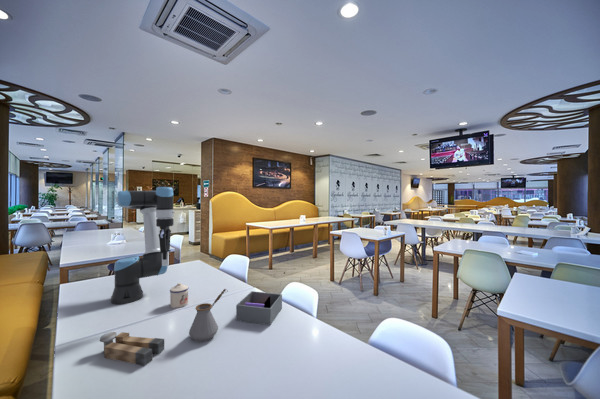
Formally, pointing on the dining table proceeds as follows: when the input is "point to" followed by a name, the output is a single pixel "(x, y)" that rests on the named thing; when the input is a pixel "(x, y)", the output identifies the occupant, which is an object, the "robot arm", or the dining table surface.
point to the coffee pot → (204, 322)
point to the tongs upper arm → (135, 341)
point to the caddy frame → (259, 308)
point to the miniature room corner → (265, 305)
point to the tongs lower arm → (127, 353)
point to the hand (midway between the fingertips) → (165, 265)
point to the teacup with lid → (179, 296)
